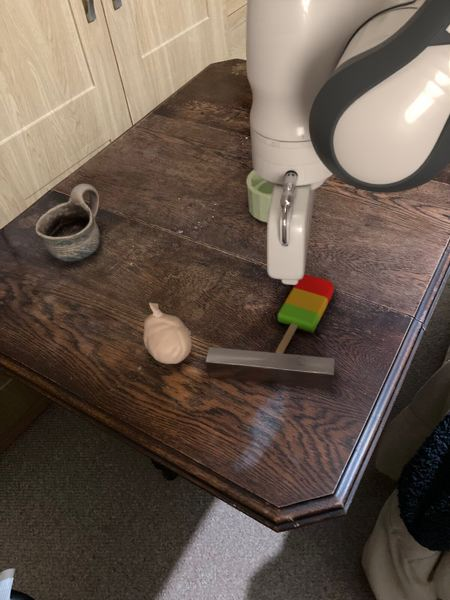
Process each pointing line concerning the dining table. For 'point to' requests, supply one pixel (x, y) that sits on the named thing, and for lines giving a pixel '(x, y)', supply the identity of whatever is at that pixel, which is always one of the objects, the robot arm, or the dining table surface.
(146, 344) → the garlic bulb
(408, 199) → the dining table surface
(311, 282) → the popsicle
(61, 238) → the mug
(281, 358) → the long grey metal bar
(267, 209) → the bowl
